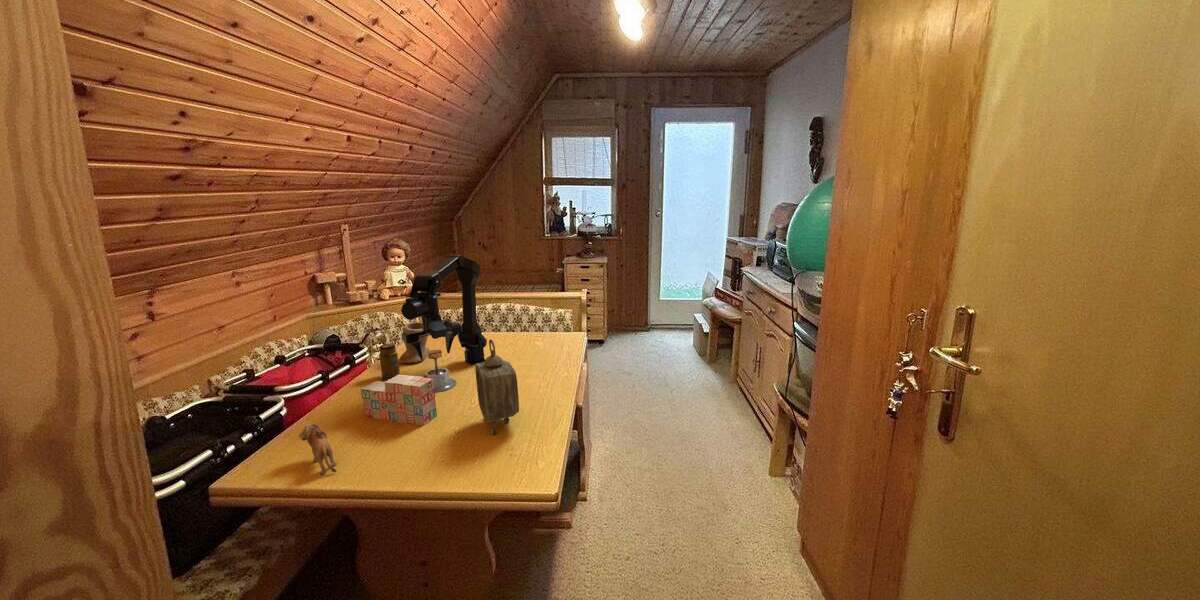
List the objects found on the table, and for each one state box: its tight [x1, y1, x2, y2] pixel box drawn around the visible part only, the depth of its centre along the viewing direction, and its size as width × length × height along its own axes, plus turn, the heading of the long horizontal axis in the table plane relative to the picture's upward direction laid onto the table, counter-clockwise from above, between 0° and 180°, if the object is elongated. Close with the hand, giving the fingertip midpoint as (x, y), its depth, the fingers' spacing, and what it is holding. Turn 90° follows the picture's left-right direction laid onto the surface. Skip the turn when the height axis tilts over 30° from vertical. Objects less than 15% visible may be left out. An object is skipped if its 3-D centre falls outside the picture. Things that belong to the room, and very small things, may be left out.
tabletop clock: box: [474, 338, 520, 435], centre depth 133 cm, size 14×9×25 cm, turn 23°
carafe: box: [420, 367, 451, 389], centre depth 163 cm, size 10×8×5 cm
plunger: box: [427, 349, 444, 375], centre depth 162 cm, size 5×5×8 cm
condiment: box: [377, 343, 401, 382], centre depth 172 cm, size 7×8×12 cm
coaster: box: [434, 377, 457, 394], centre depth 164 cm, size 12×12×1 cm
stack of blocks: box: [360, 374, 438, 426], centre depth 141 cm, size 21×6×12 cm, turn 72°
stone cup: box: [398, 321, 431, 364], centre depth 191 cm, size 15×12×15 cm
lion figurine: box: [297, 423, 337, 475], centre depth 117 cm, size 15×5×9 cm, turn 51°
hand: (435, 356), depth 162 cm, fingers open, 9 cm apart
